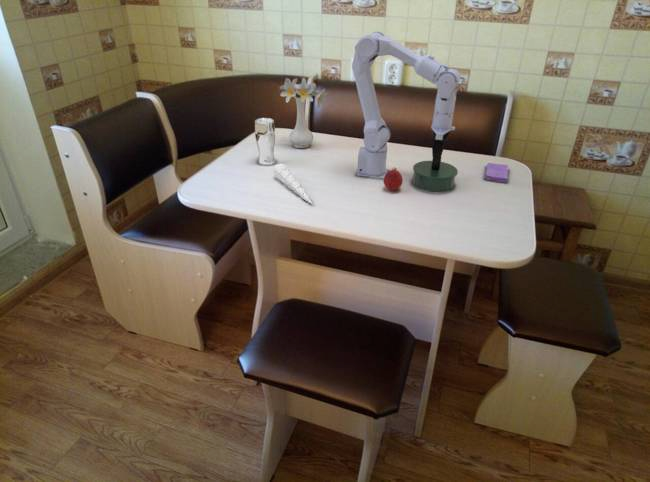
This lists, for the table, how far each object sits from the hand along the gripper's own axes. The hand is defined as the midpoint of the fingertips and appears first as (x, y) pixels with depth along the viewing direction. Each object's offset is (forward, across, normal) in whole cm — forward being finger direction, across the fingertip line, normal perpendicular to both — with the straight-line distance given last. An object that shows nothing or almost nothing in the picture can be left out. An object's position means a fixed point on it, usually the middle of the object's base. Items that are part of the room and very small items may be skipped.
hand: (437, 154), depth 143 cm
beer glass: (+11, +1, +59) cm, 60 cm away
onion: (+11, -9, +12) cm, 18 cm away
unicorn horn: (+11, -17, +42) cm, 47 cm away
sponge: (+11, +15, -20) cm, 27 cm away
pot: (+10, 0, 0) cm, 10 cm away
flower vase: (+11, +21, +52) cm, 57 cm away
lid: (+5, 0, 0) cm, 5 cm away
